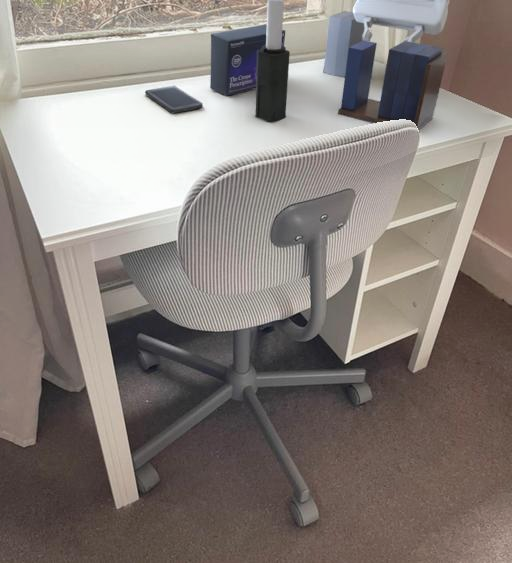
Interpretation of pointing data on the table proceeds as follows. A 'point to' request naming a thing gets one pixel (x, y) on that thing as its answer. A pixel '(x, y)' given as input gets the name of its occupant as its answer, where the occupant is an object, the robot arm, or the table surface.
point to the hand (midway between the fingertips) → (385, 43)
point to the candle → (272, 68)
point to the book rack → (406, 86)
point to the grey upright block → (341, 41)
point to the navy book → (358, 74)
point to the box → (236, 58)
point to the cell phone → (173, 99)
